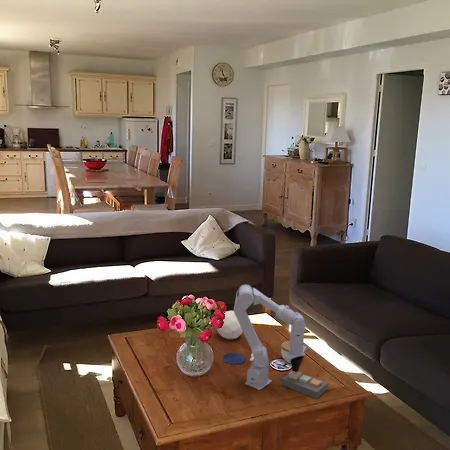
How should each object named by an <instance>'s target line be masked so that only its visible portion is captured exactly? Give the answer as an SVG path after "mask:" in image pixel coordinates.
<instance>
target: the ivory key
mask: <svg viewBox="0 0 450 450" xmlns="http://www.w3.org/2000/svg"><path fill="white" fill-rule="evenodd" d="M301 373H302V372H301V371H300V370H298V372H294V371H292V370H291V371H289V372H288V374H289V378H291V379H294V380H298V379H299V378H300V377H301Z"/></svg>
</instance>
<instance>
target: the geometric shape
mask: <svg viewBox="0 0 450 450" xmlns="http://www.w3.org/2000/svg"><path fill="white" fill-rule="evenodd" d="M224 312H225V313H224ZM224 312H223V313H224V314H225V319H224V324H223V327H222V328H221V329H217V328H216V331H217V332H218V334H219V335H220V336H221V337H223V338H224V339H227V340H234V339H238V337H240V336H241V335H242V334H243V330H242V328H241V326H240V324H239V322H238V320H237V318H236V315H235V313H234V310H227V311H224Z"/></svg>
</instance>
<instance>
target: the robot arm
mask: <svg viewBox="0 0 450 450" xmlns="http://www.w3.org/2000/svg"><path fill="white" fill-rule="evenodd" d="M252 304H253V306H255V305H262V306H264V307H265V308H266V309H268V310H270V311H272V312H274V313H275V317H277V318H278V319H279V320H281V321H283V322H284V323H285V324H287V325H290V326H291V327H290V332H289V333H290V334H289V341H290V350H289V352H288V354H287V356H286V357H285V359H284V361H285V362H286V361H287V362H286V363H288V362H290V363H289V364H290V365H291V371H294V372H298V371H300V366H301V363H302V362H303V360H304V358H305V355H306V351H307V345H304V337H305V332H304V331H305V328H307V327H306V321H305V319H304V317H303V316H304V315H302V314H301V313H299V312H297V311H294V310H292V309H290V306H288V305H287V304H286V305H284V304H281V305H279V304H278V303H276V302H274V300H272V299H271V298H269V297H267V295H265V294H263V293H262V292H261V291H259V289H257V288H255V287H252V286H251V285H249V284H242V285H241V286H239V288H238V289H237V291H236V294H235V301H234V307H233V311H234V313H235V315H236V318H237V320H238V322H239V324H240V326H241V328H242V330H243V332H242V334H244V337H245V339H246V341H247V343H248V345H249V347H250V350H251V354H253V356H254V359H253V361H251V365H250V367H249V368H248V369H247V371H246V382H245V383H244V384H245V385H247V386H249V387H250V388H254V389H257V390H258V391H261V390H262V389H264V388H265V387H266V386H268V385H269V384H270V383H272V382H273V381H272V380H271V379H270V378H269V361H270V360H269V356H268V349H267V348H266V346H264V344H263V343H262V341H261V340H260V339H259V337H258V335H257V332H256V331H255V328H254V326H253V324H252V321H251V319H250V317H249V315H248V313H247V309H248V308H249V307H250V306H251V305H252Z"/></svg>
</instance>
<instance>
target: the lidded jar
mask: <svg viewBox="0 0 450 450" xmlns="http://www.w3.org/2000/svg"><path fill="white" fill-rule="evenodd" d="M289 350H290V340H285V341H283V342H282V343H281V344H280V351H281V357H282V358H283V360H285V357H286V356H287V354H288V352H289ZM288 364H291V363H290V362H289V363H288Z"/></svg>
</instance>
